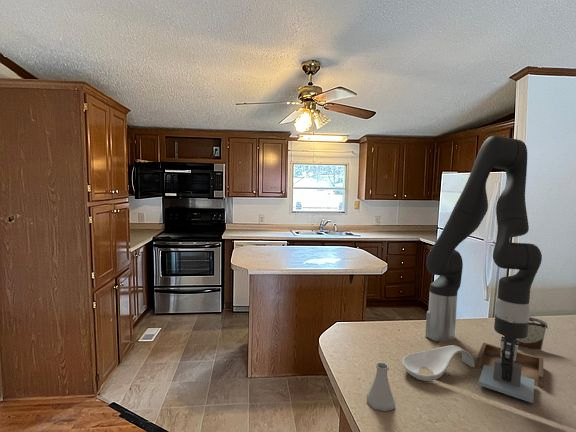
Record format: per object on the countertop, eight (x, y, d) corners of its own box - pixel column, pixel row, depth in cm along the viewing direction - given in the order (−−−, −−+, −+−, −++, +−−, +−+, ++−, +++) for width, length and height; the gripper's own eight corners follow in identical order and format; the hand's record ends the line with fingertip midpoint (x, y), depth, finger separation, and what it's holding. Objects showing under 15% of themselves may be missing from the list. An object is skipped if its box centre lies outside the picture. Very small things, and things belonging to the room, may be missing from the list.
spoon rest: (420, 391, 89) (422, 366, 89) (393, 368, 100) (394, 346, 100) (485, 376, 97) (486, 353, 96) (453, 357, 108) (454, 336, 108)
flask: (362, 394, 87) (363, 358, 86) (388, 393, 88) (390, 357, 87) (371, 412, 80) (373, 373, 79) (400, 411, 81) (402, 372, 80)
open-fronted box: (475, 370, 100) (476, 357, 100) (482, 353, 110) (483, 342, 110) (542, 390, 90) (543, 377, 90) (542, 370, 100) (543, 358, 100)
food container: (534, 342, 119) (536, 315, 119) (545, 350, 113) (548, 322, 112) (498, 340, 121) (500, 313, 120) (508, 348, 115) (510, 320, 114)
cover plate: (478, 384, 89) (479, 363, 88) (483, 367, 98) (485, 348, 97) (533, 403, 82) (535, 380, 81) (534, 383, 90) (535, 362, 90)
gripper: (498, 306, 96) (493, 362, 97) (492, 320, 85) (487, 384, 86) (529, 312, 91) (524, 371, 93) (528, 328, 80) (522, 395, 82)
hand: (506, 377), depth 89 cm, fingers closed on cover plate, 3 cm apart
